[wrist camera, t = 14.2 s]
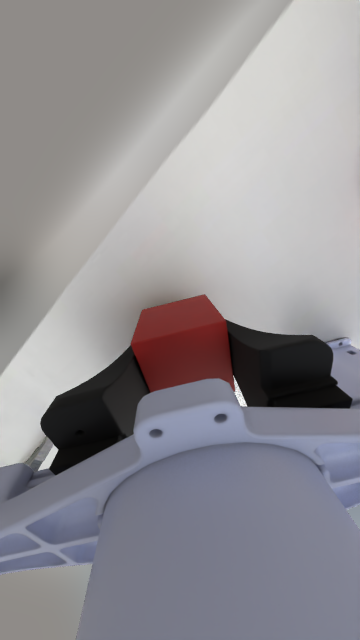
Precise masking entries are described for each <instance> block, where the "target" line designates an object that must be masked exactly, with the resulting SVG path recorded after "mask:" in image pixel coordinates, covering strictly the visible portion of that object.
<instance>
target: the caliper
mask: <svg viewBox="0 0 360 640" xmlns="http://www.w3.org/2000/svg"><path fill="white" fill-rule="evenodd" d="M52 446H53V443H52V442H51V440H50V439H49V438H48V437H47V436H46V438H45V439H44V441H43V442H42V444H41V445H40V447H38V448H37V449H36V450H35V451H34V453H33V454H32V456H31V457H30V458H29V459H28V460H27V462H26V463H25V464H27V465H29V466H30V467H31V468H32V470H33V471H34V472H36V471H38V469H39V467H40V466H41V464H42V462H43V461H44V460H45V458H46V456H47V455H48V453H49V451H50V450H51V448H52Z"/></svg>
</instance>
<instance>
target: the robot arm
mask: <svg viewBox="0 0 360 640" xmlns="http://www.w3.org/2000/svg"><path fill="white" fill-rule="evenodd" d="M225 320H226V319H225ZM226 324H227V332H228V339H229V347H230V355H231V362H232V370H233V375H234V377H235V379H236V381H237V383H238V386H239V388H240V390H241V392H242V395H243V397H244V399H245V401H246V404H247V406H248V407H241V406H240V404H239V402H238V400H237V398H236V396H235V393H234V391H233V389H232V388H231V386H230V384H229V383H228V382H226V381H224V380H221V379H219V378H218V379H204V380H200V381H195V382H191V383H187V384H183V385H179V386H174V387H170V388H166V389H162V390H158V391H154V392H152V393H150V390H149V388H148V385H147V383H146V380H145V378H144V376H143V373H142V371H141V368H140V366H139V363H138V361H137V359H136V356H135V354H134V351H133V349H132V346H130V347H129V348H128V349H127V350H126V351H125V352H124V353H123V354H122V355H121V356H120V357H119V358H118V359H117V360H115V361H114V362H113V363H112V364H111V365H109V366H108V367H107V368H106V369H104V370H103V371H101V372H100V373H98V374H97V375H96V376H94V377H93V378H91V379H89V380H88V381H86V382H84V383H82V384H81V385H79V386H77V387H75V388H73V389H71V390H69V391H67V392H65V393H63V394H61V395H58V396H56V398H55V399H54V401H53V402H52V404H51V405H50V406H49V408H48V409H47V411H46V412H45V414H44V415H43V417H42V418H41V423H40V424H41V428H42V430H43V432H44V433H45V435H46V436H47V437H48V438H49V439H50V440H51V442H52V443H53V444H54V445H55V446H56V447H57V448H58V452H57V454H56V456H55V458H54V460H53V462H52V464H51V466H50V468H49V469H44V470H40V471H36V472H34V471H33V470H32V468H31V467H30V466H29V465H27V464H24V463H17V464H13V465H9V466H5V467H0V575H1V574H6V573H12V572H19V571H26V570H34V569H42V568H52V567H63V566H75V565H86V564H92V569H91V574H90V578H89V583H88V587H87V592H86V596H85V600H84V605H83V609H82V614H81V618H80V623H79V628H78V631H77V636H76V640H360V529H359V528H358V527H357V525H356V524H355V522H354V521H353V520H352V518H351V516H350V515H349V513H348V512H347V509H350V508H353V507H356V506H359V505H360V350H359V349H357V348H355V347H353V346H351V339H349V338H344V339H340V340H336V341H331V342H327V343H325V342H323V341H321V340H320V339H318V338H317V337H315V336H313V335H283V334H273V333H266V332H261V331H256V330H252V329H249V328H246V327H243V326H240V325H237V324H235V323H232V322H230V321H228V320H226Z"/></svg>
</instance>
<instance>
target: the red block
mask: <svg viewBox="0 0 360 640" xmlns="http://www.w3.org/2000/svg"><path fill="white" fill-rule="evenodd" d="M131 346H132V349H133V351H134V354H135V356H136V359H137V361H138V363H139V366H140V368H141V371H142V373H143V376H144V378H145V380H146V383H147V385H148V388H149V390H150V393H152V392H154V391H158V390H162V389H166V388H170V387H174V386H179V385H183V384H187V383H191V382H195V381H200V380H204V379H218V378H219V379H221V380H224V381H226V382H228V383H229V384H230V386H231V388H232V389H233V391H235V385H234V378H233V370H232V362H231V355H230V347H229V339H228V332H227V324H226V320H225V319H224V318H223V317H222V315H221V314H220V313H219V311H218V310H217V309H216V308H215V306H214V305H213V304H212V303H211V301H210V300H209V299H208V298H207V296H206V295H205V294H204V295H200V296H196V297H192V298H188V299H184V300H180V301H176V302H172V303H168V304H164V305H160V306H156V307H151V308H147V309H143V310H142V312H141V315H140V318H139V321H138V323H137V326H136V329H135V332H134V335H133V338H132V341H131Z"/></svg>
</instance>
